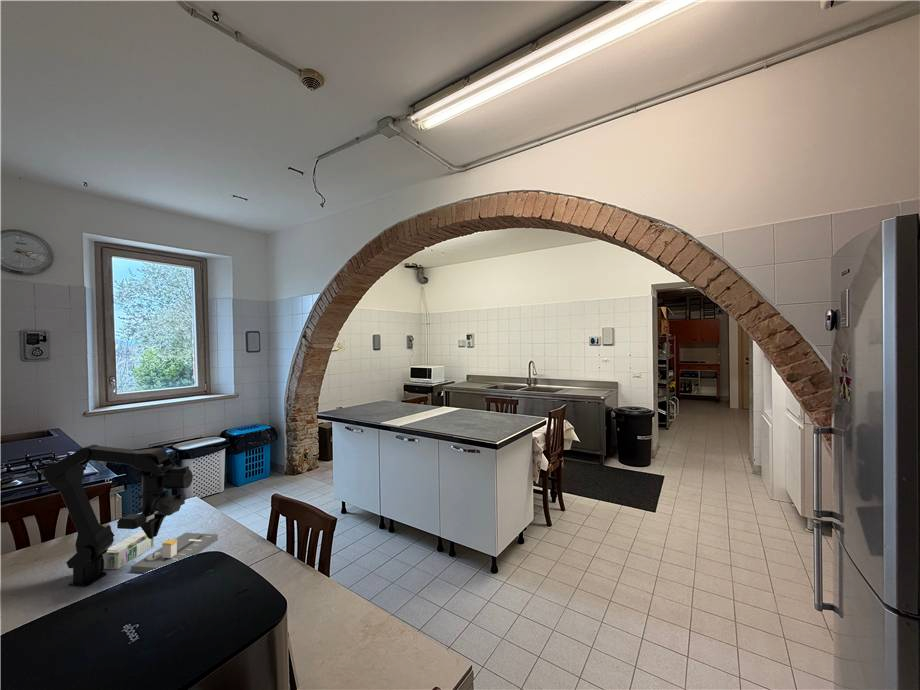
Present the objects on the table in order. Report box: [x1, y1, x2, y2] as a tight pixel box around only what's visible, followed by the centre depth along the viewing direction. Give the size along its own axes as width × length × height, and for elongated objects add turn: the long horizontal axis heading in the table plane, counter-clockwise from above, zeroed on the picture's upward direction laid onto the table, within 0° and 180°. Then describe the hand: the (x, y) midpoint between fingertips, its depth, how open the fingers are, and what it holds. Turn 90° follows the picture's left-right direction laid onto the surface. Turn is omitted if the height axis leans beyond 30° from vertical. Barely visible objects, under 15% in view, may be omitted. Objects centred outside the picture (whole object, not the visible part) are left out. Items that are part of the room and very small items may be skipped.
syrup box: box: [103, 530, 155, 570], centre depth 131 cm, size 6×6×14 cm
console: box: [130, 532, 219, 574], centre depth 133 cm, size 22×13×3 cm, turn 175°
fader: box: [161, 538, 177, 558], centre depth 128 cm, size 3×3×5 cm
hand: (152, 537), depth 121 cm, fingers closed
